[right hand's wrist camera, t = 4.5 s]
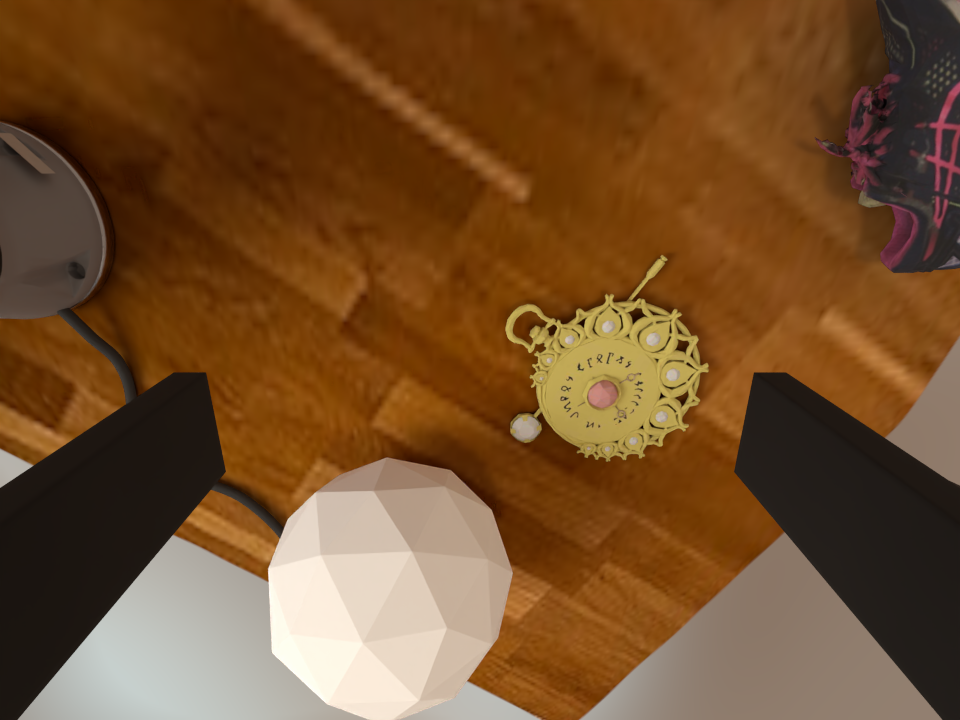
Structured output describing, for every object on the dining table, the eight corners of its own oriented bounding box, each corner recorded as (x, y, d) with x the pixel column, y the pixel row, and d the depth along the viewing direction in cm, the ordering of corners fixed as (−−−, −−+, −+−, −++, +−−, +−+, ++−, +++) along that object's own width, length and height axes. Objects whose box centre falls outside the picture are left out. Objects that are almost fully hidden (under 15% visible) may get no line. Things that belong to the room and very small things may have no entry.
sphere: (440, 504, 59) (438, 714, 49) (261, 476, 50) (210, 730, 39) (546, 449, 46) (575, 720, 36) (330, 395, 37) (281, 745, 26)
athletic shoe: (1000, -120, 29) (789, 13, 32) (1207, 213, 28) (968, 318, 31) (894, 1, 40) (744, 92, 43) (1039, 243, 39) (875, 319, 42)
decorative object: (620, 510, 49) (446, 407, 44) (613, 494, 52) (447, 395, 47) (779, 343, 43) (598, 203, 38) (763, 333, 46) (591, 200, 41)
